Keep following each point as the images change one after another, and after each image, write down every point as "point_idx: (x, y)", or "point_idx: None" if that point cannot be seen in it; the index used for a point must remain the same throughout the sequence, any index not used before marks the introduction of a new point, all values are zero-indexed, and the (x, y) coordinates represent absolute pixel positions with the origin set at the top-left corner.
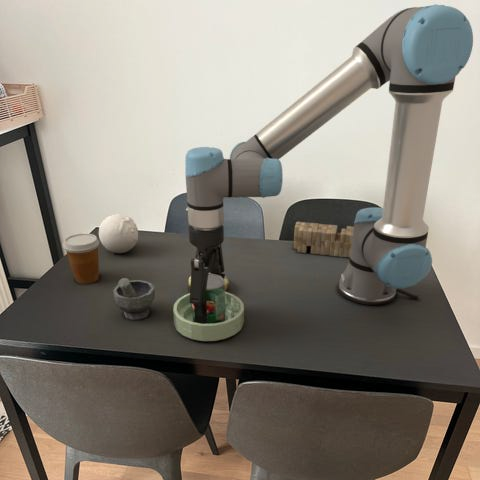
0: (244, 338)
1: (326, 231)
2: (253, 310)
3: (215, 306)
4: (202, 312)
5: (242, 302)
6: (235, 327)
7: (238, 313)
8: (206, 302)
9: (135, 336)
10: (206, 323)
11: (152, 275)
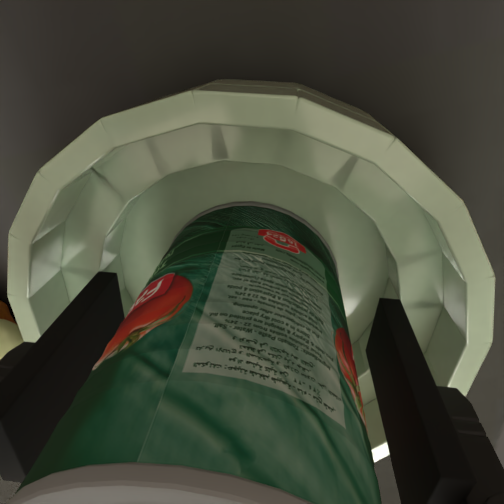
0: (362, 36)
1: None
2: (11, 55)
3: (332, 338)
4: (447, 404)
5: (86, 131)
6: (368, 116)
7: (284, 125)
8: (437, 458)
9: (389, 472)
10: (400, 313)
11: (2, 490)
